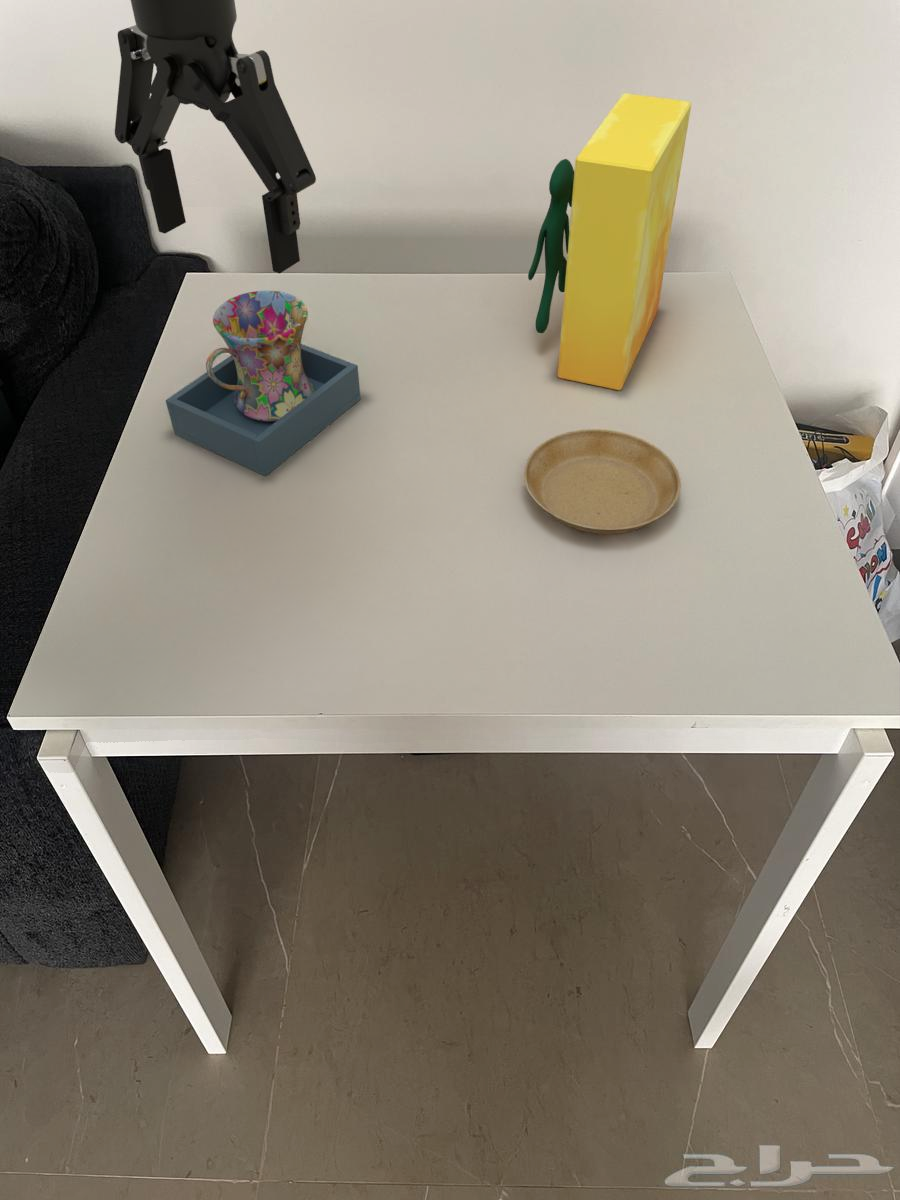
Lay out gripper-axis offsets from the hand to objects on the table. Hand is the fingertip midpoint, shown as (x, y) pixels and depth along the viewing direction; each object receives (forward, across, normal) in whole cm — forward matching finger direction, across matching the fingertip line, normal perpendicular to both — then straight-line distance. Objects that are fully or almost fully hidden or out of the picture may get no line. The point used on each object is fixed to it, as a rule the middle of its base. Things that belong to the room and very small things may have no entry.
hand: (227, 246), depth 84 cm
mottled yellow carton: (+20, -21, -34) cm, 44 cm away
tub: (+20, +1, -2) cm, 20 cm away
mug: (+20, +1, -3) cm, 20 cm away
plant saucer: (+20, -34, -10) cm, 41 cm away
